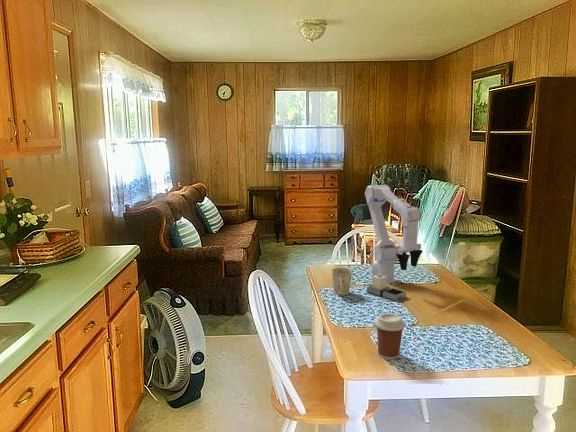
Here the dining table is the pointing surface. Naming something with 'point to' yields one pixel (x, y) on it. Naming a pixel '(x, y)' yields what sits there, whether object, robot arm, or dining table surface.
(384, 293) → the panel
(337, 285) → the mug
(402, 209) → the robot arm
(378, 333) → the coffee cup
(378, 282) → the plug
